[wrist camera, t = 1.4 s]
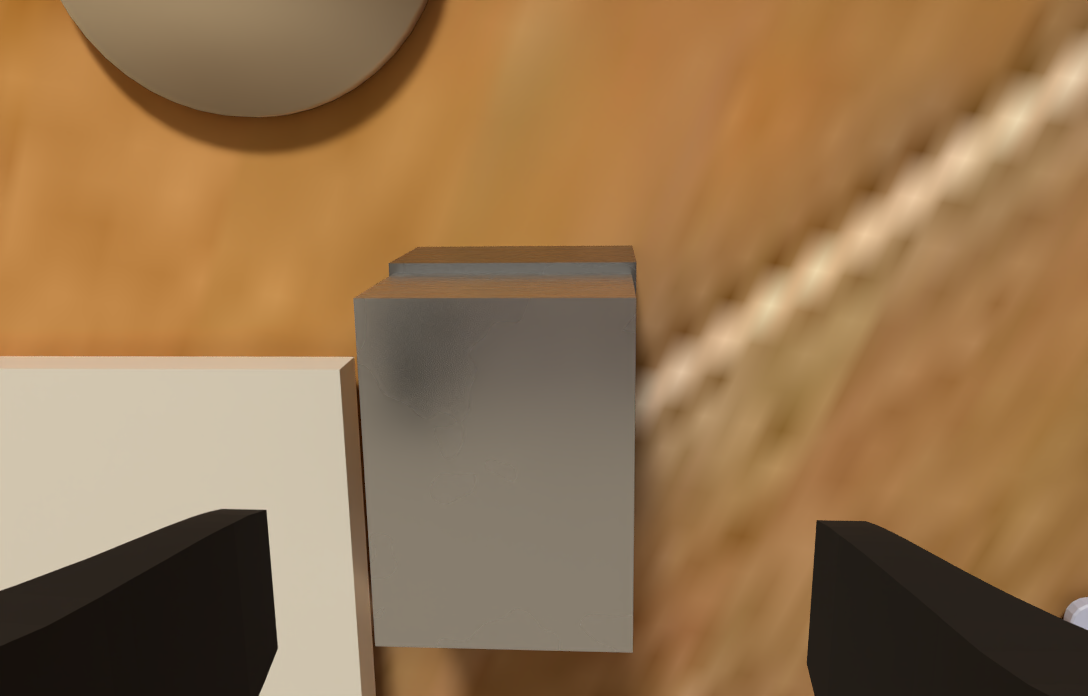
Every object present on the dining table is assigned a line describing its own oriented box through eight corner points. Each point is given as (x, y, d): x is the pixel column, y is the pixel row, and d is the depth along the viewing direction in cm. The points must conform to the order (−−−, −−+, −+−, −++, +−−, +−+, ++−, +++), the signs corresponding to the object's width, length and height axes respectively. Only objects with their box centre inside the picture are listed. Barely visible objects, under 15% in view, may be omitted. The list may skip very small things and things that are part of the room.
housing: (629, 525, 22) (638, 662, 16) (431, 522, 23) (370, 655, 17) (631, 245, 21) (642, 286, 15) (418, 246, 21) (347, 286, 15)
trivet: (387, 780, 24) (370, 829, 22) (-34, 765, 25) (-82, 813, 23) (360, 351, 22) (339, 369, 20) (-110, 350, 22) (-171, 368, 21)
